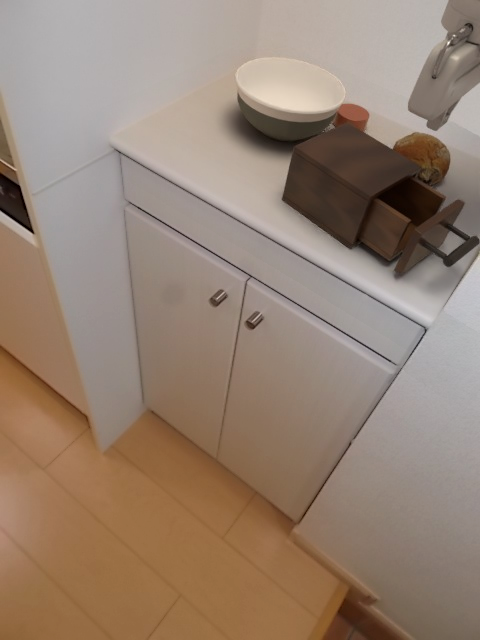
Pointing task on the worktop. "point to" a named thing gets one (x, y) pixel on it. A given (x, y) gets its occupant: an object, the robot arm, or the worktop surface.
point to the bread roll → (425, 156)
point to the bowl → (288, 97)
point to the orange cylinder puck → (352, 116)
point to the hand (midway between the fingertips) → (435, 125)
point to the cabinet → (342, 179)
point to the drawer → (413, 225)
